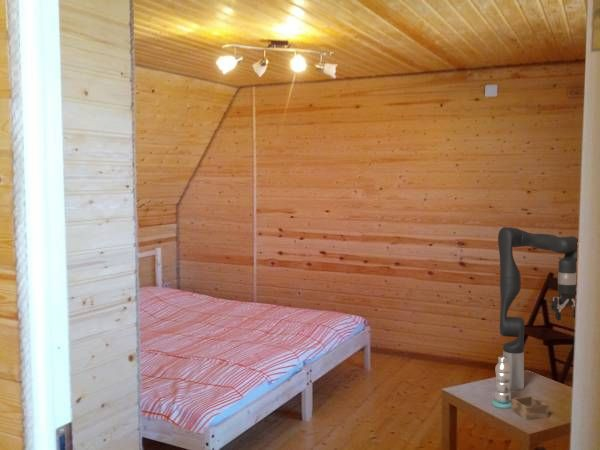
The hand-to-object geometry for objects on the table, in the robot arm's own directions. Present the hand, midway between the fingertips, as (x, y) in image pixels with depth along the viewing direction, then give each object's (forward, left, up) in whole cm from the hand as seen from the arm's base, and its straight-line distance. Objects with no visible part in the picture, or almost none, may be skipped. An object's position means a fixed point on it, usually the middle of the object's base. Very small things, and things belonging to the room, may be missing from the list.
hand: (567, 319), depth 261 cm
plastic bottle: (-4, -29, -35) cm, 46 cm away
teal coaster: (-4, -29, -36) cm, 46 cm away
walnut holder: (+8, -24, -36) cm, 44 cm away
